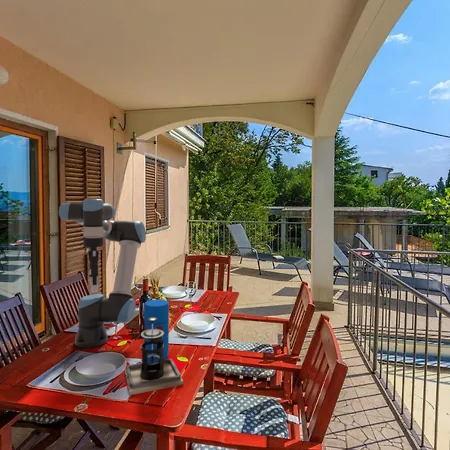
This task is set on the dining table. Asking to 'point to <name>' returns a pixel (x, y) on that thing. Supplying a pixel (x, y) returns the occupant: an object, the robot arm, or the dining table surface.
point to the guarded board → (141, 385)
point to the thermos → (157, 322)
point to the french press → (153, 359)
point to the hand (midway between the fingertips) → (93, 288)
